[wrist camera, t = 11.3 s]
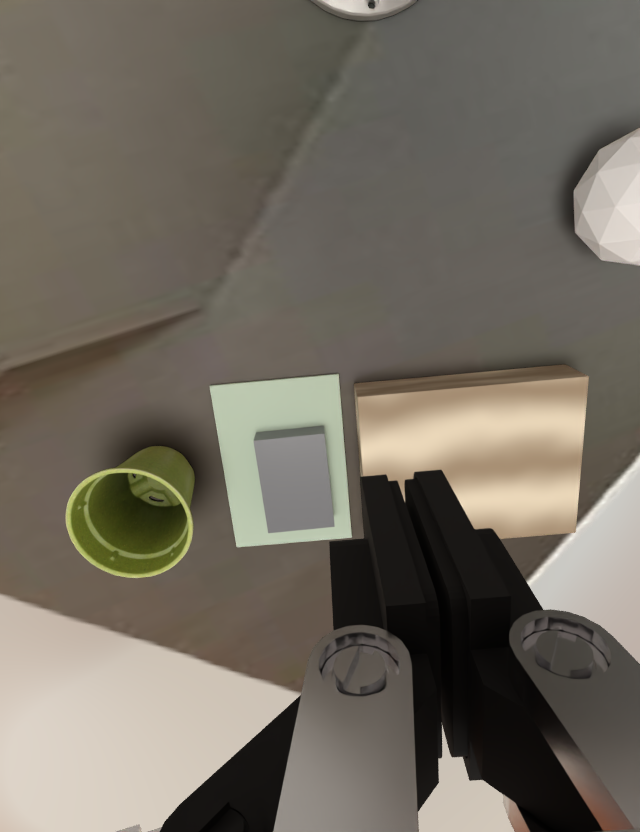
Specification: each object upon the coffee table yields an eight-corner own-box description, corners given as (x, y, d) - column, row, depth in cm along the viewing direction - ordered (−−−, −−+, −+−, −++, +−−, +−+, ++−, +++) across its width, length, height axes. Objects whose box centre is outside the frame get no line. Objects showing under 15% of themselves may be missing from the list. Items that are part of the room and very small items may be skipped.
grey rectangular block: (324, 433, 43) (323, 425, 45) (253, 440, 43) (256, 432, 45) (334, 526, 46) (333, 515, 48) (268, 533, 46) (270, 521, 48)
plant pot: (115, 416, 45) (71, 456, 36) (222, 440, 45) (202, 484, 37) (104, 508, 48) (60, 564, 39) (204, 529, 48) (181, 588, 40)
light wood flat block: (353, 383, 44) (357, 397, 40) (564, 364, 43) (588, 376, 40) (364, 525, 48) (368, 549, 45) (554, 509, 48) (575, 532, 44)
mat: (210, 385, 44) (209, 386, 43) (338, 373, 44) (338, 374, 43) (237, 545, 49) (236, 547, 49) (351, 535, 49) (351, 537, 48)
